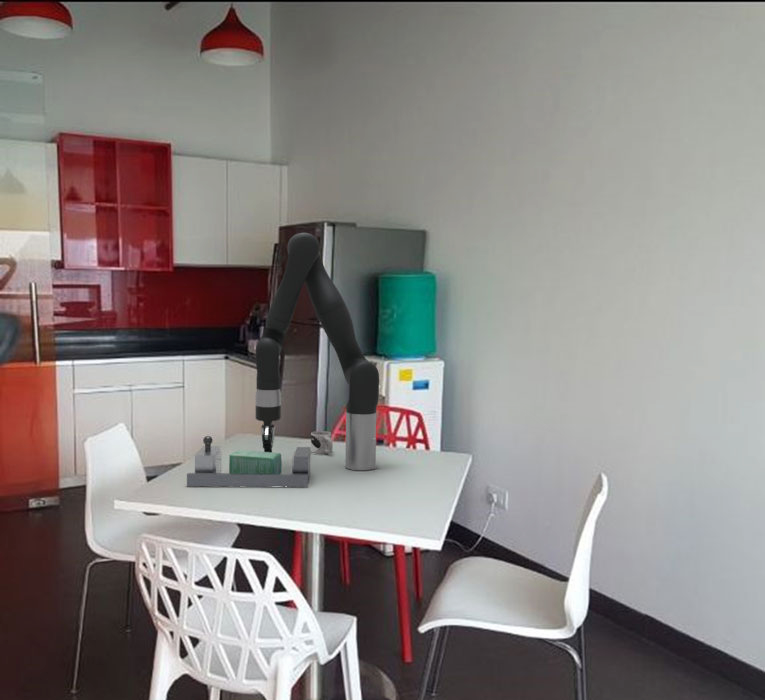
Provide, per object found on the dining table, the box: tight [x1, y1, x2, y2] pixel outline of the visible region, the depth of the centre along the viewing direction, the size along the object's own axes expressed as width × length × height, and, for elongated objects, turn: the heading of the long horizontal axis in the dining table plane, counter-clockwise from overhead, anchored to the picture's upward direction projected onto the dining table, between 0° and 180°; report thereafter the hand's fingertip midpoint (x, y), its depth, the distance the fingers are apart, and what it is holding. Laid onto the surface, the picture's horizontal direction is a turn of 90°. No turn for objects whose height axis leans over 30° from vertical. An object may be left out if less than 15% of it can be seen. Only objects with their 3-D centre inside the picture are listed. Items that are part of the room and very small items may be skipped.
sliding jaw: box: [194, 435, 223, 473], centre depth 209 cm, size 6×12×12 cm, turn 3°
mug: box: [310, 430, 334, 455], centre depth 242 cm, size 10×7×7 cm
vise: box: [186, 446, 312, 488], centre depth 208 cm, size 33×15×8 cm, turn 93°
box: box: [228, 449, 282, 474], centre depth 210 cm, size 7×14×8 cm, turn 80°
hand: (268, 460), depth 219 cm, fingers closed
